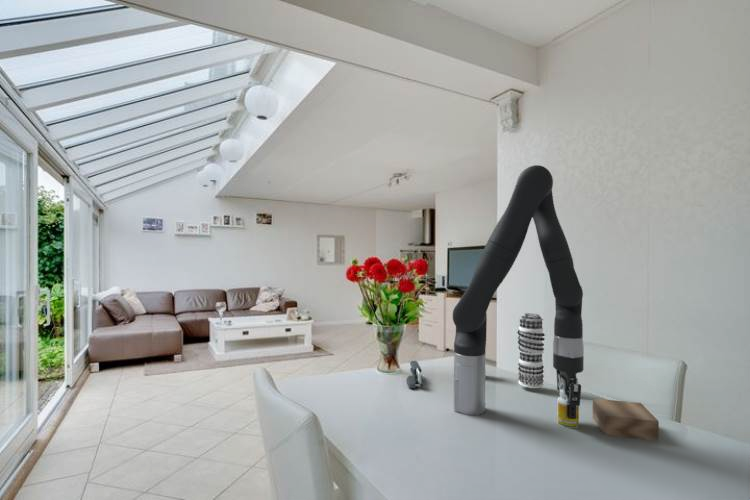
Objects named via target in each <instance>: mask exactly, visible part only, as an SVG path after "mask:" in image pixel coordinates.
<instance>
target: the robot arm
mask: <svg viewBox="0 0 750 500" xmlns="http://www.w3.org/2000/svg"><path fill="white" fill-rule="evenodd" d="M553 185H554V179H553V175H552V173H551V171H550V170H549V169H548V168H546V166H543V165H540V164H538V165H537V164H536V165H531V166H528V167H526V168H525V169H523V171H521V172H520V174H519V176H518V178H517V180H516V184H515V186H514V189H513V192H512V194H511V197H510V199H509V202H508V204H507V207H506V209H505V210H504V213H503V214H502V216H501V218H500V219H499V220H498V222H497V224H496V225H495V227H494V229H493V230H492V232H491V234H490V236H489V238H488V240H487V243H486V244H485V246H484V248H483V251H482V253H481V255H480V256H479V257H480V258H479V259H478V262H477V265H476V267H475V269H474V272H473V275H472V278H471V281H470V282H469V285H468V286H467V287H466V289H465V291H464V293H463V295H462V296H461V297H460V299H459V301H458V302H457V303H456V305H455V306H454V308H453V310H452V321H453V323H454V325H455V336H454V342H453V412H455V413H459V414H464V415H469V416H479V415H482V414H484V413H485V412H486V404H487V403H486V350H487V349H486V348H487V321H488V319H487V312H488V308H489V306H490V303H491V301H492V299H493V297H494V295H495V293H496V291H497V290H498V289H499V287H500V285H501V284H502V283H503V281H504V280H505V278H506V277H507V276H508V274H509V272H510V270H511V269H512V267H513V265H514V264H515V262H516V260H517V258H518V255H519V253H520V251H521V250H522V247H523V244H524V243H525V239H526V237H527V234H528V230H529V228H530V224H531V222H532V219H533V223H534V226H535V230H536V234H537V240H538V243H539V247H540V251H541V254H542V258H543V260H544V263H545V267H546V269H547V271H548V275H549V280H550V285H551V289H552V293H553V297H554V299H555V300H554V301H555V303H554V305H555V316H554V322H553V323H554V324H553V328H554V330H553V331H554V332H553V333H554V334H553V343H552V344H553V345H552V347H553V348H552V366H553V369H555V370H556V390H557V391H558V394H559V396H560V390H561V389H563V392H564V395H565V396H566V403H567V418H569V419H576V405H577V406H579V407H580V405H581V395H582V385H581V384H579V379H578V378H577V374H579V373H582V372H583V371H584V366H585V365H584V362H585V361H584V349H585V348H584V347H585V346H584V345H585V344H584V341H583V340H584V339H583V337H584V335H583V333H584V332H583V330H584V329H583V318H582V312H583V311H582V309H583V308H582V307H583V297H584V292H583V287H582V285H581V283H580V281H579V278H578V275H577V272H576V271H575V270H576V269H575V266H574V260H573V259H574V258H573V256H572V253H571V250H570V246H569V243H568V241H567V238H566V235H565V233H564V229H563V228H562V225H561V224H560V220H559V218H558V214H557V212H556V208H555V204H554V203H555V202H554V195H553ZM567 391H569V392H567ZM572 398H574V400H572Z"/></svg>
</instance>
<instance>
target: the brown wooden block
mask: <svg viewBox="0 0 750 500" xmlns="http://www.w3.org/2000/svg"><path fill="white" fill-rule="evenodd" d="M592 420H593V421H594V422H595V423H596V425H597V426H598V428H599V429H600V430H601V432H602V433H603V434H604V436H605V435H606V436H613V437H622V438H630V439H638V440H647V441H655V442H659V437H660V436H659V433H660V431H659V426H660V425H659V424H660V423H659V420H658V418H656V417H655V416H654V414H652V413H651V412H650V411H649V409H647V408H646V407H645V405H644V404H642V403H641V402H636V401H634V402H633V401H624V400H614V399H604V398H592Z"/></svg>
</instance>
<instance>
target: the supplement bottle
mask: <svg viewBox="0 0 750 500" xmlns="http://www.w3.org/2000/svg"><path fill="white" fill-rule="evenodd" d="M567 392H569V391H567ZM572 400H574V398H572ZM579 408H580V406H577V405H576V419H569V418H567V403H566V396H565V395H564V392H563V389H561V390H560V395H559V396H558V398H557V400H556V423H557V425H558V426H560V427H563V428H568V429H577V428H579V427H580V426H579V425H580V424H579V416H580V414H579V411H580V409H579Z"/></svg>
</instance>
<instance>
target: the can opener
mask: <svg viewBox="0 0 750 500" xmlns="http://www.w3.org/2000/svg"><path fill="white" fill-rule="evenodd" d="M409 364H410V373H411V375H408V376H407V377H406V385H407V386H408V388H410V389H416V385H418V387H419V388H421V387H423V380H424V378H425V375H424V374H421V373H422V370H423V369H422V368H421V366H420V364H419V363H418V361H416V360H411V361H410V362H409Z"/></svg>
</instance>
